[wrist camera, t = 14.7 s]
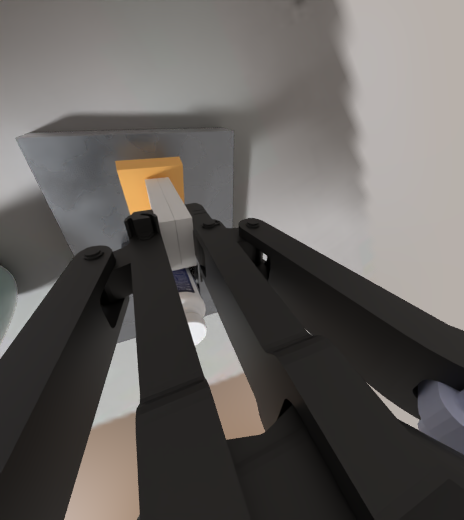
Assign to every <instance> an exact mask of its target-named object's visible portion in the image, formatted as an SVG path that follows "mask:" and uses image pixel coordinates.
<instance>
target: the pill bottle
mask: <svg viewBox="0 0 464 520" xmlns="http://www.w3.org/2000/svg"><path fill="white" fill-rule="evenodd" d="M172 272H173V276H174V279H175V282H176V285H177V289H178V292H179V295H180V299H181V302H182V305H183V309H184V312H185V315H186V319H187V322H188V325H189V329H190V332H191V335H192V338H193V342H194V345H197V344H198V343H200V342H201V341H202V340H203V339H204V337H205V336H206V333H207V327H206V325H205V322H204V319H203V318H204V316H205V311H206V308H205V304H204V301H203V298H202V296H201V294H200V291H199V289H198V287H197V284H196V282H195V280H194V277H193V275H192V273H191V270H190V268H189V267H188V268H182V269H179V270H174V271H172Z"/></svg>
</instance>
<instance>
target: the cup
mask: <svg viewBox="0 0 464 520" xmlns="http://www.w3.org/2000/svg"><path fill="white" fill-rule="evenodd" d="M17 297H18V288H17V283H16V280H15V279H14V277H13V276H12V274H11V273H10V272H9V271H8V270H7V269H6V268H5V267H3V266H1V265H0V346H1V343H2V341H3V339H4V337H5V335H6V332H7V330H8V328H9V325H10V322H11V320H12V317H13V314H14V311H15V308H16V304H17Z"/></svg>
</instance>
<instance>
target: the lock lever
mask: <svg viewBox="0 0 464 520" xmlns="http://www.w3.org/2000/svg"><path fill="white" fill-rule="evenodd" d="M115 163H116V169H117V173H118V176H119V180H120V183H121V186H122V189H123V193H124V196H125V199H126V202H127V205H128V209H129V212H130V215H131V214H132V213H133V212H137V211H144V210H151V207H150V202H149V197H148V193H147V188H146V184H145V179H153V178H164V177H169V179H170V181H171V182H172V184H173V186H174V187H175V189H176V191H177V193H178V194H179V196H180V198H181V199H182V201H183V203H184V182H183V164H182V162H181V160H180V157H165V158H151V159H136V160H121V161H115Z"/></svg>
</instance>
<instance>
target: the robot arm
mask: <svg viewBox="0 0 464 520" xmlns="http://www.w3.org/2000/svg"><path fill="white" fill-rule="evenodd" d="M145 184H146V188H147V193H148V197H149V202H150V207H151V210H144V211H137V212H133V213H132V214H131V215H130V216H128V217H127V218H125V220H124V224H125V227H126V230H127V234H128V237H129V244H128V245H126V246H125V247H123V248H121V249H119V250H116V251H112V249H111V248H110V247H108V246H103V245H98V246H91V247H88V248H85V249H84V250H82V251H80V252H79V253H77V254H76V255H75V256H74V258H73V259H72V261H71V262H70V263H69V265H68V266H67V268H66V269H65V270H64V272H63V273H62V274H61V276H60V277H59V279H58V280H57V281H56V283H55V284H54V285H53V287H52V288H51V290H50V291H49V292H48V294H47V295H46V297H45V298H44V299H43V301H42V302H41V303H40V305H39V306H38V308H37V309H36V310H35V312H34V313H33V315H32V316H31V317H30V319H29V320H28V321H27V323H26V324H25V326H24V327H23V328H22V330H21V331H20V333H19V334H18V335H17V337H16V338H15V339H14V341H13V342H12V344H11V345H10V346H9V348H8V349H7V351H6V352H5V353H4V355H3V356H2V357H1V359H0V520H64V518H65V514H66V511H67V507H68V504H69V501H70V498H71V494H72V491H73V487H74V484H75V480H76V477H77V474H78V471H79V467H80V464H81V461H82V457H83V454H84V450H85V447H86V444H87V441H88V437H89V434H90V431H91V427H92V424H93V421H94V417H95V414H96V411H97V407H98V404H99V401H100V397H101V394H102V390H103V387H104V384H105V380H106V377H107V374H108V370H109V367H110V364H111V360H112V357H113V354H114V350H115V347H116V344H117V340H118V337H119V334H120V330H121V327H122V324H123V320H124V317H125V314H126V310H127V307H128V303H129V297H130V296H129V295H131V294H133V301H134V315H135V329H136V343H137V358H138V372H139V386H140V404H139V406H138V407H137V410H136V444H137V445H136V446H137V464H138V485H139V505H140V515H139V517H138V519H137V520H464V331H463V330H460V329H458V328H455V327H452V326H450V325H448V324H445V323H444V322H442V321H440V320H439V319H437V318H435V317H433V316H432V315H430V314H428V313H426V312H424V311H423V310H421V309H419V308H417V307H415V306H413V305H412V304H410V303H408V302H407V301H405V300H403V299H401V298H399V297H398V296H396V295H394V294H392V293H390V292H389V291H387V290H385V289H383V288H382V287H380V286H378V285H376V284H374V283H373V282H371V281H369V280H367V279H365V278H364V277H362V276H360V275H358V274H357V273H355V272H353V271H351V270H349V269H348V268H346V267H344V266H342V265H340V264H339V263H337V262H335V261H333V260H332V259H330V258H328V257H326V256H324V255H323V254H321V253H319V252H317V251H315V250H314V249H312V248H310V247H308V246H307V245H305V244H303V243H301V242H299V241H298V240H296V239H294V238H292V237H290V236H289V235H287V234H285V233H283V232H282V231H280V230H278V229H276V228H274V227H273V226H271V225H269V224H267V223H265V222H264V221H262V220H259V219H255V218H248V219H244V220H242V221H240V223H239V228H226V227H225V226H224V225H223V223H222V222H220V221H219V220H216V219H212V218H211V217H210V216H209V214H208V213H207V211H206V210H205V209H204V207H203V206H202V205H200V204H198V203H190V204H184V203H183V201H182V199H181V198H180V196H179V194H178V193H177V191H176V189H175V187H174V186H173V184H172V182H171V181H170V179H169V177H164V178H153V179H145ZM263 253H264V254H266V255H267V261H265V260H263V259H262V258H263ZM196 258H197V260H198V262H199V270H200V281H201V282H203V280H204V282H205V284H206V287H207V289H208V291H209V293H210V296H211V298H212V300H213V302H214V305H215V307H216V309H217V312H218V314H219V316H220V318H221V321H222V323H223V325H224V327H225V330H226V332H227V334H228V337H229V339H230V341H231V343H232V346H233V348H234V350H235V352H236V355H237V357H238V359H239V362H240V364H241V366H242V368H243V371H244V373H245V375H246V377H247V380H248V382H249V384H250V387H251V389H252V391H253V393H254V396H255V398H256V402H257V405H258V410H259V415H260V418H261V421H262V424H263V427H264V429H265V433H263V434H261V435H256V436H249V437H242V438H236V439H229V440H226V438H225V435H224V432H223V429H222V425H221V422H220V419H219V416H218V413H217V409H216V406H215V403H214V400H213V396H212V394H211V390H210V387H209V385H208V382H207V380H206V379H205V377H204V375H203V372H202V368H201V365H200V362H199V358H198V355H197V352H196V348H195V345H194V342H193V338H192V335H191V332H190V329H189V325H188V322H187V319H186V315H185V312H184V309H183V305H182V302H181V299H180V295H179V292H178V289H177V285H176V282H175V279H174V276H173V272H172V271H174V270H179V269H182V268H188V267H192V266H197V260H196ZM304 328H305V329H306V330H307V331H308V332H309V333H310V334H309V333H308V332H307V331H306V330H305V329H304ZM311 334H312V335H311ZM366 382H367V383H368V384H369V385H370V386H372V387H373V388H374V389H375V390H377V391H378V392H379V393H380V394H382V395H383V396H384V397H386V398H387V399H388V400H390V401H391V402H393V403H394V404H396V405H397V406H398V407H400V408H401V409H403V410H404V411H406V412H408V413H409V414H411V415H413V416H414V417H416V418H418V419H419V423H418V428H419V430H417V429H415V428H413V427H412V426H410V425H408V424H406V423H404V422H402V421H400V420H399V419H397V418H396V417H395V416H394V415H393V414H392V412H391V411H390V410H389V409H388V407H387V406H386V405H385V404H384V403H383V401H382V400H381V399H380V398H379V397H378V396H377V394H376V393H375V392H374V391H373V390H372V389H371V387H370V386H369V385H368V384H367V383H366Z"/></svg>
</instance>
